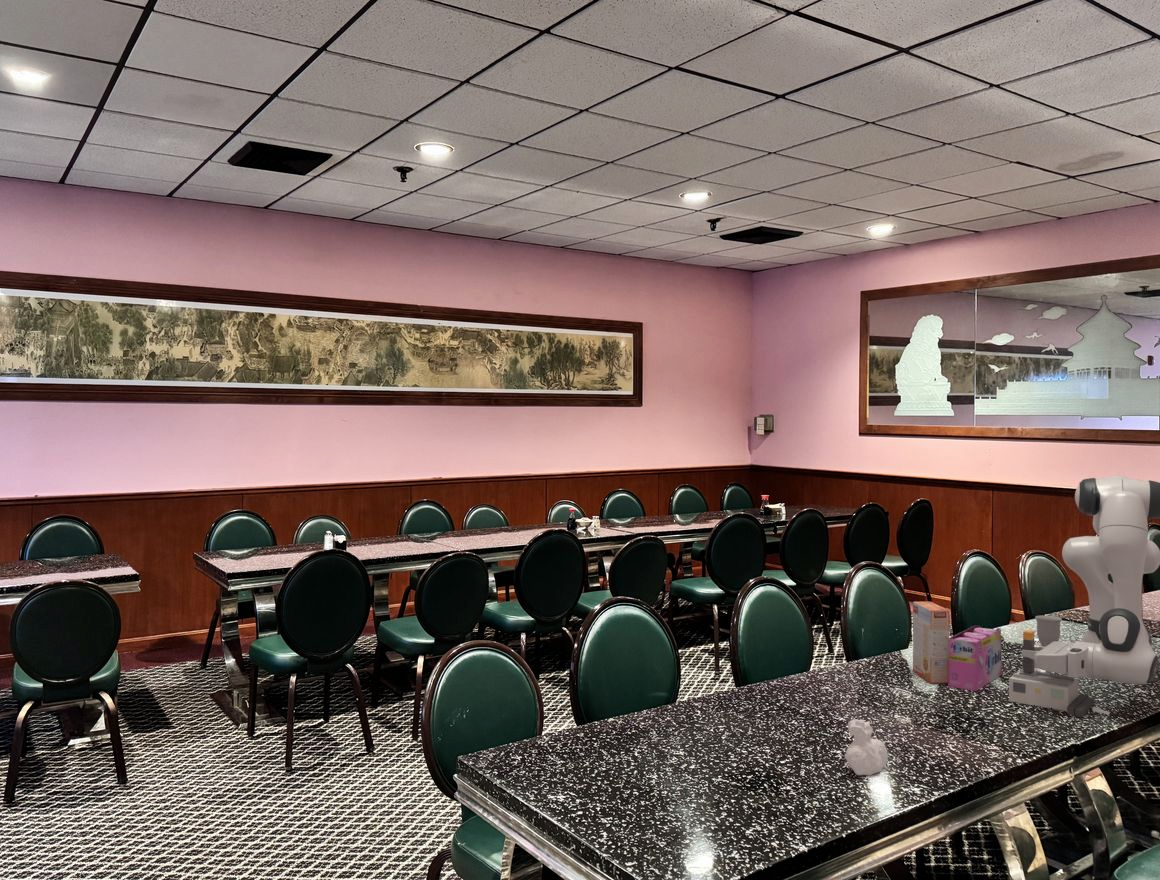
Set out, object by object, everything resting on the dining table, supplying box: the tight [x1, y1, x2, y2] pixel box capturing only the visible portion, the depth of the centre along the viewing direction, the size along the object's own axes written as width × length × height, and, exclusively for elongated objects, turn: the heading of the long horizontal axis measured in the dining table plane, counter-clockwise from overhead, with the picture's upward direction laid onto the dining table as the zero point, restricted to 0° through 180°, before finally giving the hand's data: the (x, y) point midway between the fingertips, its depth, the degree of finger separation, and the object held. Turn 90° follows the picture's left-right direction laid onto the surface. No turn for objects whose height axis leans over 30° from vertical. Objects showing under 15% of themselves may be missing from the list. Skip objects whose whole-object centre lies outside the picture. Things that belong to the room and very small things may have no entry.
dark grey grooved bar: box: [1066, 693, 1096, 718], centre depth 234 cm, size 16×3×2 cm, turn 140°
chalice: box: [1035, 615, 1063, 674], centre depth 259 cm, size 7×7×18 cm
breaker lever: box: [1018, 629, 1039, 677], centre depth 242 cm, size 4×4×12 cm
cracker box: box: [912, 601, 951, 684], centre depth 264 cm, size 14×6×21 cm, turn 179°
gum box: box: [947, 625, 1003, 692], centre depth 261 cm, size 24×8×14 cm, turn 139°
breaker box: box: [1008, 668, 1079, 712], centre depth 240 cm, size 11×14×7 cm
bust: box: [844, 718, 889, 777], centre depth 192 cm, size 12×8×11 cm
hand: (1024, 651), depth 243 cm, fingers closed on breaker lever, 3 cm apart
